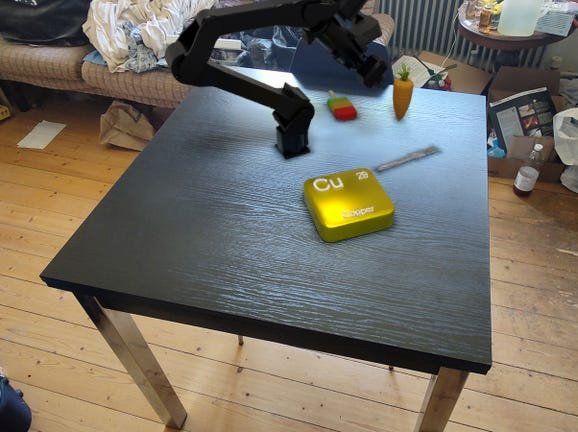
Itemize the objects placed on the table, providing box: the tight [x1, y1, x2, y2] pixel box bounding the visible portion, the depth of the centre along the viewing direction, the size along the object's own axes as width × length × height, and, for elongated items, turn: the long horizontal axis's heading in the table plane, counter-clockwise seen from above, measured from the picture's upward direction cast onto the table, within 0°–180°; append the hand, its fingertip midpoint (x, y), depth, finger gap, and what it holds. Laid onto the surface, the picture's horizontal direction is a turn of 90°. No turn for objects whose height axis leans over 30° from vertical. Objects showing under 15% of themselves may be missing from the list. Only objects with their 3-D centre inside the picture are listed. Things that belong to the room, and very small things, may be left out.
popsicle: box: [326, 90, 358, 122], centre depth 119 cm, size 6×15×2 cm, turn 19°
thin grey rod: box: [376, 146, 439, 173], centre depth 102 cm, size 17×2×1 cm, turn 120°
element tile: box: [302, 167, 396, 243], centre depth 88 cm, size 15×15×5 cm
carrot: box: [392, 62, 415, 121], centre depth 110 cm, size 5×5×15 cm
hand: (376, 78), depth 103 cm, fingers open, 9 cm apart
